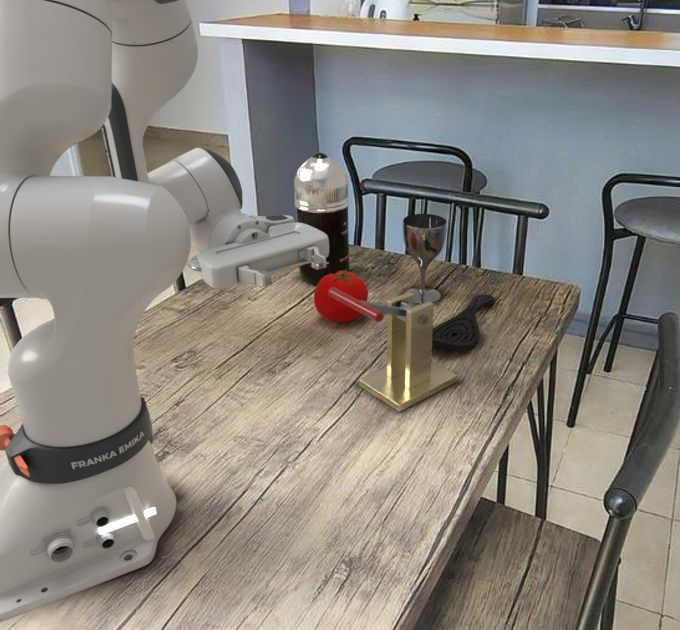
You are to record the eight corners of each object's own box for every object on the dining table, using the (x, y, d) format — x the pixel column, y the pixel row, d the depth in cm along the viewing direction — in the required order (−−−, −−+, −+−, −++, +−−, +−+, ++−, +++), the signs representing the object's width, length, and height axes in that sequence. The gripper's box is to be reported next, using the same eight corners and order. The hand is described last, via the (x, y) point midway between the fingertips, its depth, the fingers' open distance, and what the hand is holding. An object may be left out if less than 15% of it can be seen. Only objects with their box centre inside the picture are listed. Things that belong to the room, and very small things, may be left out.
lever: (373, 325, 85) (379, 308, 85) (325, 299, 92) (330, 282, 91) (438, 334, 95) (444, 318, 95) (391, 310, 102) (396, 295, 101)
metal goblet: (395, 290, 132) (396, 216, 125) (431, 284, 135) (434, 211, 128) (411, 307, 126) (413, 230, 119) (450, 300, 129) (454, 225, 122)
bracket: (399, 412, 96) (400, 326, 90) (358, 386, 102) (357, 303, 96) (457, 381, 104) (462, 300, 97) (417, 358, 109) (419, 280, 103)
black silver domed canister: (354, 268, 141) (352, 147, 130) (344, 289, 132) (341, 161, 120) (305, 265, 142) (299, 144, 130) (292, 285, 133) (284, 158, 121)
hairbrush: (511, 289, 127) (461, 342, 106) (509, 307, 129) (460, 363, 108) (470, 281, 130) (413, 330, 109) (468, 298, 132) (412, 350, 111)
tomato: (311, 329, 117) (308, 284, 113) (320, 302, 126) (318, 261, 122) (365, 331, 117) (364, 286, 113) (370, 304, 126) (370, 262, 122)
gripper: (178, 241, 98) (227, 270, 89) (297, 212, 111) (350, 235, 102) (184, 281, 101) (232, 313, 92) (299, 248, 114) (351, 274, 105)
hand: (295, 272), depth 97 cm, fingers open, 8 cm apart
